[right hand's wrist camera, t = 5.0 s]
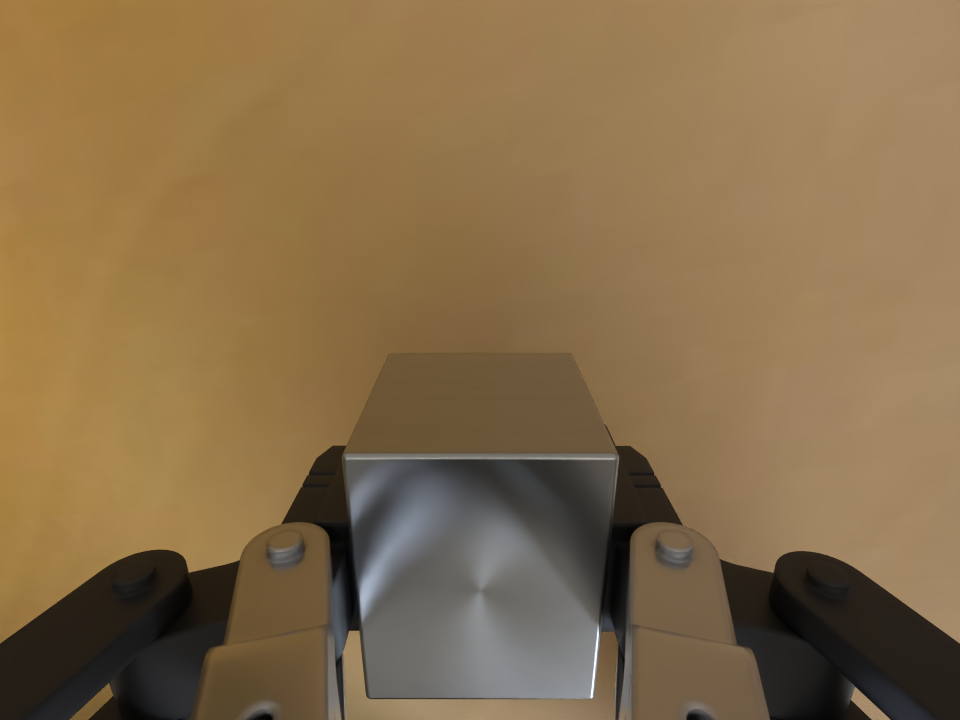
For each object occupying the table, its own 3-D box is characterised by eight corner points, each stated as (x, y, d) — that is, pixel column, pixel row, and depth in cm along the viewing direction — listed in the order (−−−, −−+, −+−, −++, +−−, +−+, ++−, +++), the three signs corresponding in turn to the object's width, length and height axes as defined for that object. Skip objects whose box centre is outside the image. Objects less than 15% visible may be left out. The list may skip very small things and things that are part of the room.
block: (572, 351, 12) (621, 455, 8) (561, 537, 14) (595, 702, 9) (388, 351, 12) (339, 454, 8) (399, 537, 14) (365, 701, 9)
